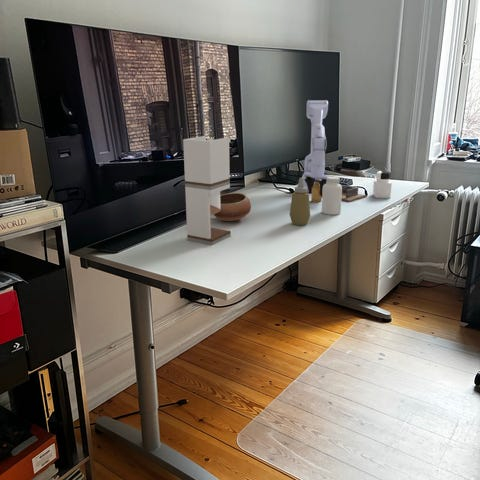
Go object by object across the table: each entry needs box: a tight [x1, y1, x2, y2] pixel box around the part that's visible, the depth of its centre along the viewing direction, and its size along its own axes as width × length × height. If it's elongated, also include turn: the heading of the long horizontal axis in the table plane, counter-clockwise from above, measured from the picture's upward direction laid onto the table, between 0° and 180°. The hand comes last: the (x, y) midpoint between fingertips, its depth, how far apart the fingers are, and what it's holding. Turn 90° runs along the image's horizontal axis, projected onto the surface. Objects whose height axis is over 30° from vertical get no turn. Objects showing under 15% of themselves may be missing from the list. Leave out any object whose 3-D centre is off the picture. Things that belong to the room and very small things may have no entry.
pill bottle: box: [321, 176, 342, 216], centre depth 203 cm, size 8×8×15 cm
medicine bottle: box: [372, 170, 392, 199], centre depth 232 cm, size 7×7×12 cm
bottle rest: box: [340, 184, 367, 203], centre depth 232 cm, size 16×14×4 cm
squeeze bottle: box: [289, 177, 311, 226], centre depth 187 cm, size 8×8×18 cm
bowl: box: [212, 192, 252, 222], centre depth 194 cm, size 16×16×10 cm
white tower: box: [182, 135, 231, 246], centre depth 168 cm, size 11×11×35 cm
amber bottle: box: [310, 179, 322, 203], centre depth 223 cm, size 5×5×10 cm
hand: (316, 194), depth 224 cm, fingers open, 6 cm apart
